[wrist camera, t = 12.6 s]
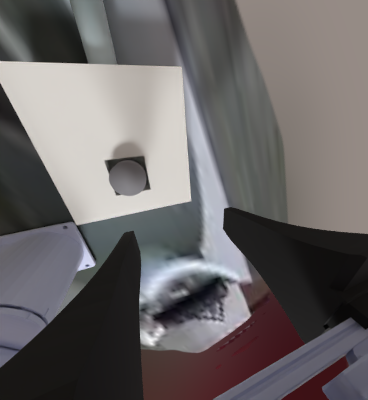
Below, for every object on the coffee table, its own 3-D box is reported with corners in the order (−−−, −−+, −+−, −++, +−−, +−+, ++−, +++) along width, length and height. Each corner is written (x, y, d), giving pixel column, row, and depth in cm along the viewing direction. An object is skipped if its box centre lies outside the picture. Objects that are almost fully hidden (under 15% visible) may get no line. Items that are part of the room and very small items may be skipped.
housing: (180, 188, 20) (191, 200, 16) (91, 205, 17) (76, 225, 13) (170, 86, 14) (181, 66, 11) (39, 87, 12) (-12, 61, 8)
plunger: (118, 190, 14) (115, 198, 12) (109, 161, 12) (103, 164, 10) (148, 185, 14) (149, 192, 12) (142, 157, 13) (142, 159, 11)
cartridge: (135, 128, 15) (133, 123, 11) (108, 130, 14) (94, 125, 10) (82, -115, 9) (29, -352, 4) (31, -130, 8) (-88, -424, 4)
